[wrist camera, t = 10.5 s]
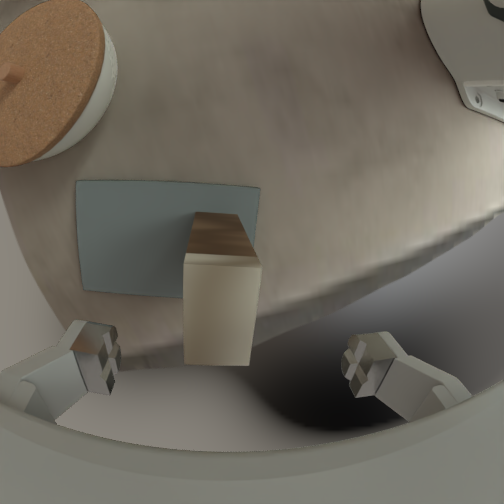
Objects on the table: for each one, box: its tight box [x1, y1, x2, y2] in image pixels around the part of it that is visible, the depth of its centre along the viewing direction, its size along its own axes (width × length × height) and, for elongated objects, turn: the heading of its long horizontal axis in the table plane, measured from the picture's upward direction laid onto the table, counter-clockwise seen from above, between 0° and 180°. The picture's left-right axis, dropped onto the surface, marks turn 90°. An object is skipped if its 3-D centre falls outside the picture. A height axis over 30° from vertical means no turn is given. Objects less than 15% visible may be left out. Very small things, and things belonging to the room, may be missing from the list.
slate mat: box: [76, 180, 260, 298], centre depth 20 cm, size 14×9×1 cm, turn 84°
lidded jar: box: [0, 0, 118, 167], centre depth 11 cm, size 11×11×9 cm
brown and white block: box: [183, 212, 262, 366], centre depth 16 cm, size 3×5×10 cm, turn 174°
